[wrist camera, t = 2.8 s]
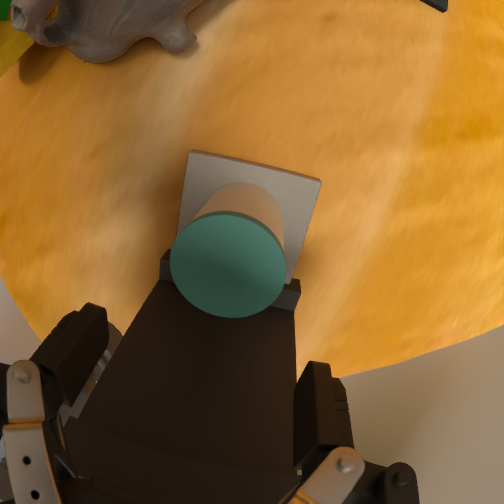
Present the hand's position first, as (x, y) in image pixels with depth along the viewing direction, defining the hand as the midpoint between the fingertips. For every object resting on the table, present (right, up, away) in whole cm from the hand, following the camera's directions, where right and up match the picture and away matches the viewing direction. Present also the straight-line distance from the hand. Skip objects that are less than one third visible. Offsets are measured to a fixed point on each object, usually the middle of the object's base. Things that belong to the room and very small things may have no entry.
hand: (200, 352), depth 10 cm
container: (+1, +6, +12) cm, 14 cm away
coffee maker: (+1, +4, +15) cm, 15 cm away
